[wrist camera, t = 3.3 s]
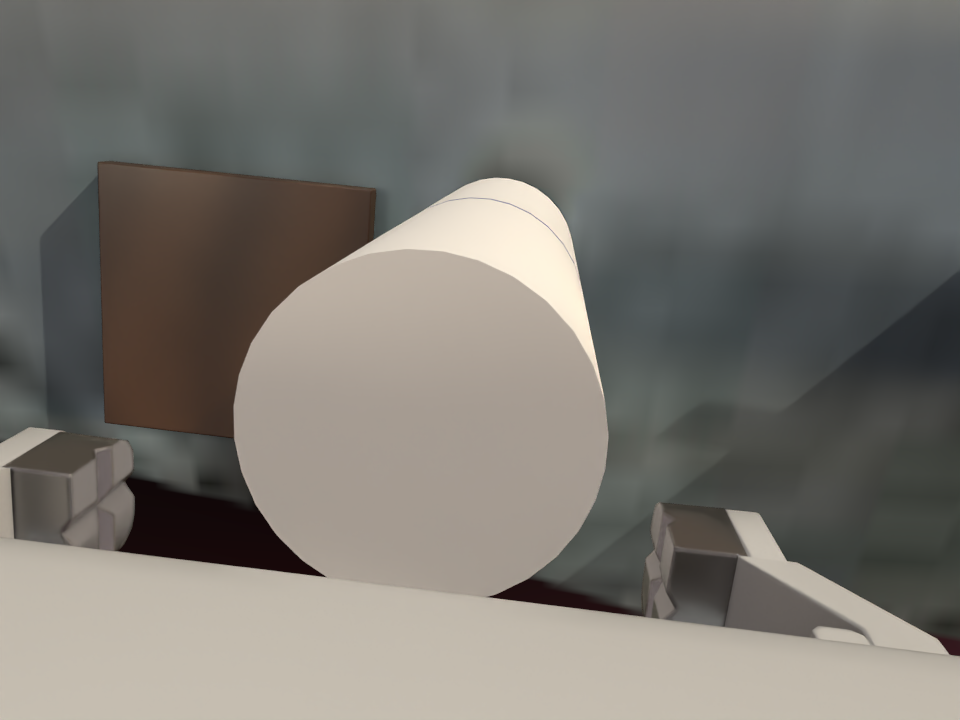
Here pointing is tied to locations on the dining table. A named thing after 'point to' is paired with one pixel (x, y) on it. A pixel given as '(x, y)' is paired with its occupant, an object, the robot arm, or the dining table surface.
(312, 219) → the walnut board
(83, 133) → the dining table surface
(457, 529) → the cylindrical container
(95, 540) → the robot arm
